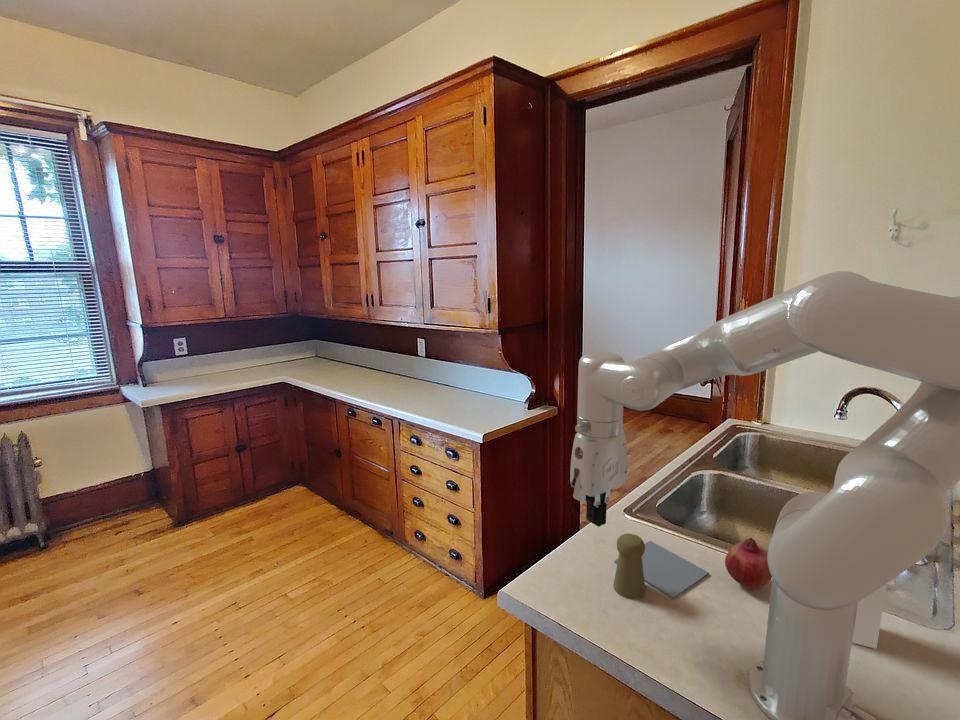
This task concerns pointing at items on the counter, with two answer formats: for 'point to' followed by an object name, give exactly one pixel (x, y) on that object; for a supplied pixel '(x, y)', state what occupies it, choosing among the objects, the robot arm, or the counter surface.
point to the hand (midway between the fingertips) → (595, 521)
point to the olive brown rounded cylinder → (630, 567)
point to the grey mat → (669, 571)
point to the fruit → (748, 564)
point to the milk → (869, 619)
